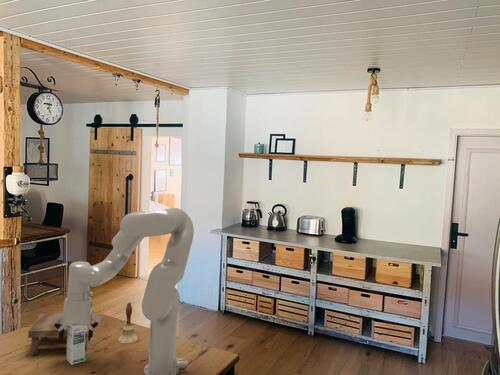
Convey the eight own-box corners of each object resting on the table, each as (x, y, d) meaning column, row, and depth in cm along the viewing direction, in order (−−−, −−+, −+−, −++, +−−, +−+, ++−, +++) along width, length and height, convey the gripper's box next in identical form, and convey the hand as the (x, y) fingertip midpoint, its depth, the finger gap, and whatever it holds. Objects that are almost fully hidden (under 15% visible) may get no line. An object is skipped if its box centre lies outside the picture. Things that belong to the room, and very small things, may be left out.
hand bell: (114, 342, 166) (115, 305, 166) (123, 334, 174) (125, 299, 174) (132, 345, 165) (134, 307, 164) (141, 337, 173) (142, 301, 172)
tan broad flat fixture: (85, 335, 172) (86, 312, 171) (78, 354, 154) (79, 328, 154) (40, 337, 167) (40, 314, 167) (27, 357, 150) (28, 331, 149)
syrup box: (71, 365, 145) (72, 326, 145) (65, 359, 150) (67, 321, 149) (87, 361, 149) (88, 323, 149) (81, 355, 154) (82, 318, 153)
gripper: (103, 291, 154) (101, 334, 155) (55, 292, 150) (53, 336, 151) (101, 298, 147) (99, 343, 148) (50, 298, 143) (48, 345, 143)
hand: (75, 339), depth 149 cm, fingers open, 9 cm apart
